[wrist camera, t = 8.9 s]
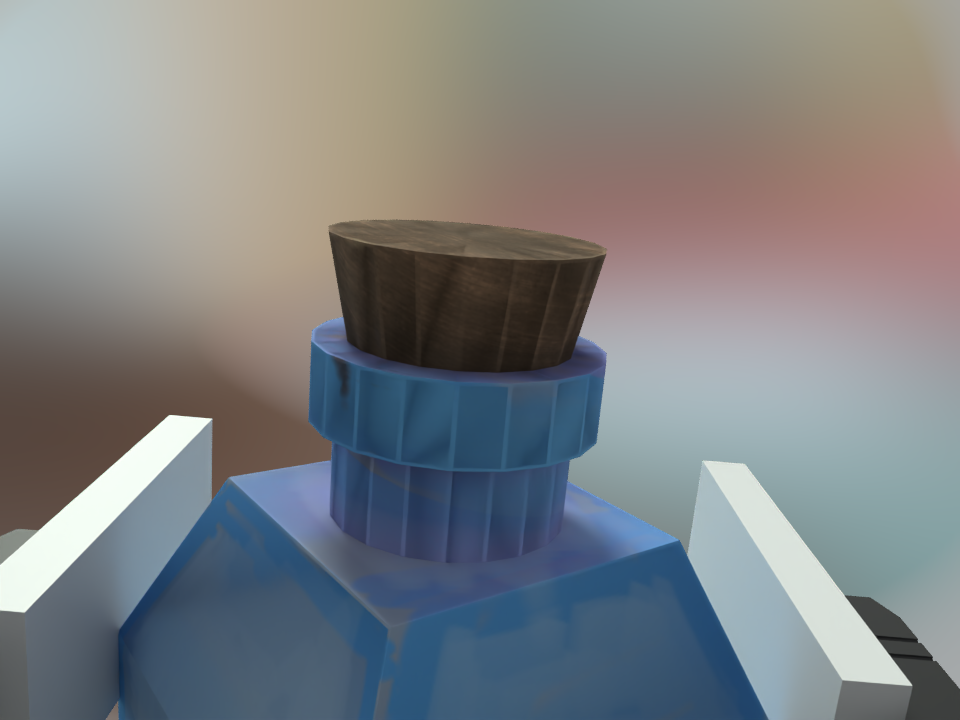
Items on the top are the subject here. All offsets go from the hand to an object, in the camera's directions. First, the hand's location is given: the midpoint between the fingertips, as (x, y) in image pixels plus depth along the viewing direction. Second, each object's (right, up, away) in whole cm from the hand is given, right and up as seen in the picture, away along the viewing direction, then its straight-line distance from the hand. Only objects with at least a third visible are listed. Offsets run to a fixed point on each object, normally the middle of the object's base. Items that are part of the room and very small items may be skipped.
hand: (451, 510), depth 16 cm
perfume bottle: (-1, -8, -3) cm, 8 cm away
